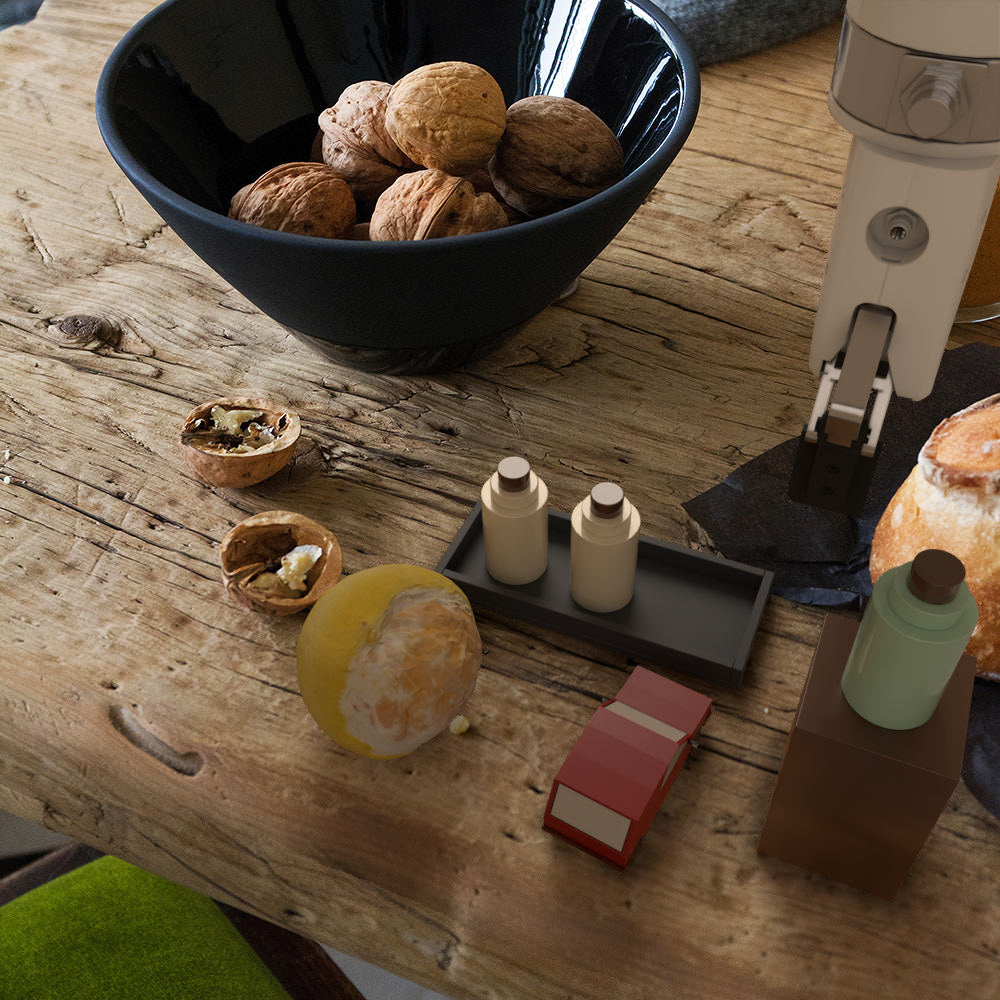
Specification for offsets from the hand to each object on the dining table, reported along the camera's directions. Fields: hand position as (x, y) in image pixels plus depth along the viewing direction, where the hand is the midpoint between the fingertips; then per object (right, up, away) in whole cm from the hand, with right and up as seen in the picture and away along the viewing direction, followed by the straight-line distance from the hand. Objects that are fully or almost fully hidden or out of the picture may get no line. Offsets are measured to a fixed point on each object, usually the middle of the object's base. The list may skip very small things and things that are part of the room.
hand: (844, 435), depth 48 cm
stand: (+2, -20, +7) cm, 22 cm away
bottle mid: (-10, -9, +18) cm, 23 cm away
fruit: (-22, -16, +13) cm, 30 cm away
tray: (-10, -9, +19) cm, 23 cm away
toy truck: (-9, -19, +10) cm, 23 cm away
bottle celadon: (+2, -12, -1) cm, 12 cm away
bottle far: (-15, -7, +20) cm, 26 cm away
